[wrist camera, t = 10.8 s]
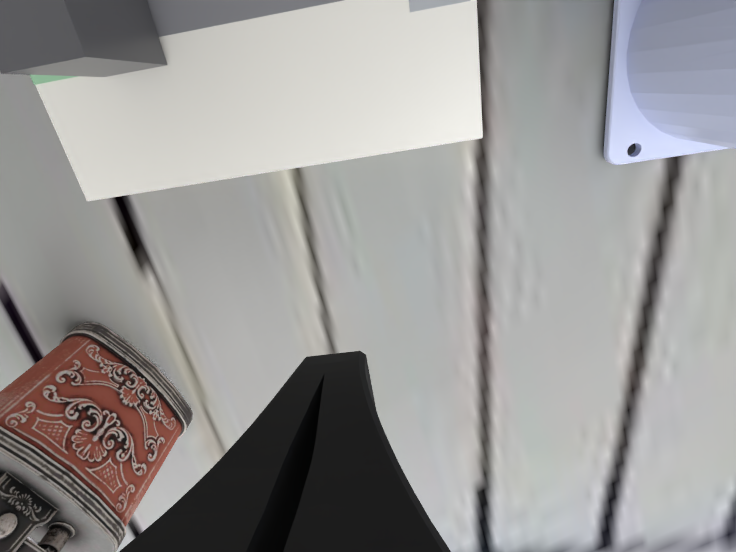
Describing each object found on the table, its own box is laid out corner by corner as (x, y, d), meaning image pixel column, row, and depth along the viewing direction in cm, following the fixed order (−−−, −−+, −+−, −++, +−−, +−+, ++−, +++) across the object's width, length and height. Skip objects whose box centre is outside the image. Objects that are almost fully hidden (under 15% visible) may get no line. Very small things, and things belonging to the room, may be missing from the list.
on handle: (127, -61, 13) (15, -126, 9) (167, 65, 15) (86, 56, 11) (58, -46, 13) (-82, -102, 9) (104, 77, 15) (1, 73, 11)
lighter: (55, 340, 22) (-179, 522, 13) (99, 310, 21) (-118, 482, 12) (164, 438, 24) (34, 646, 15) (206, 415, 24) (95, 621, 15)
